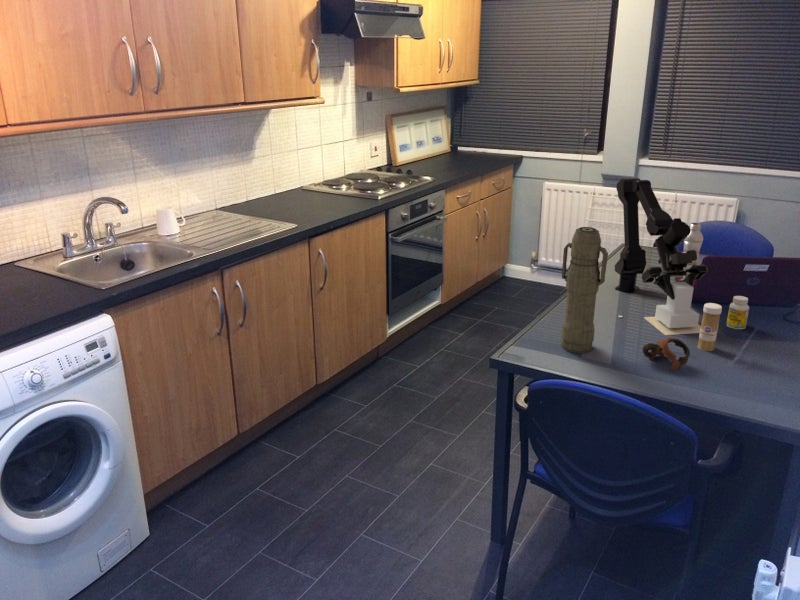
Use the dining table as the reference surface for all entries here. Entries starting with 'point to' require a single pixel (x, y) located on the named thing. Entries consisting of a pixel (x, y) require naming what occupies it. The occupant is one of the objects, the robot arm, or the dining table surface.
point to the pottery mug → (667, 352)
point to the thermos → (582, 288)
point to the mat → (672, 331)
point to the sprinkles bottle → (709, 326)
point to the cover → (678, 308)
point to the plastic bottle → (693, 242)
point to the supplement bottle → (738, 313)
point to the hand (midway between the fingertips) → (681, 298)
